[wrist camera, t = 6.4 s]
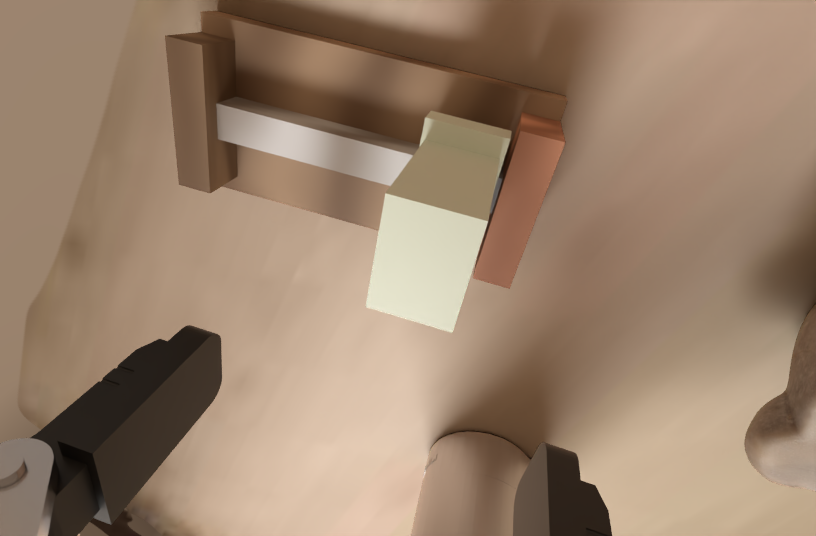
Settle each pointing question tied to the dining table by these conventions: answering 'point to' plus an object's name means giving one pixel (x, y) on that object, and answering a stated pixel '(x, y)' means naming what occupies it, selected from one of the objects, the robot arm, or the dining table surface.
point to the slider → (436, 221)
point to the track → (320, 95)
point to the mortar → (789, 421)
